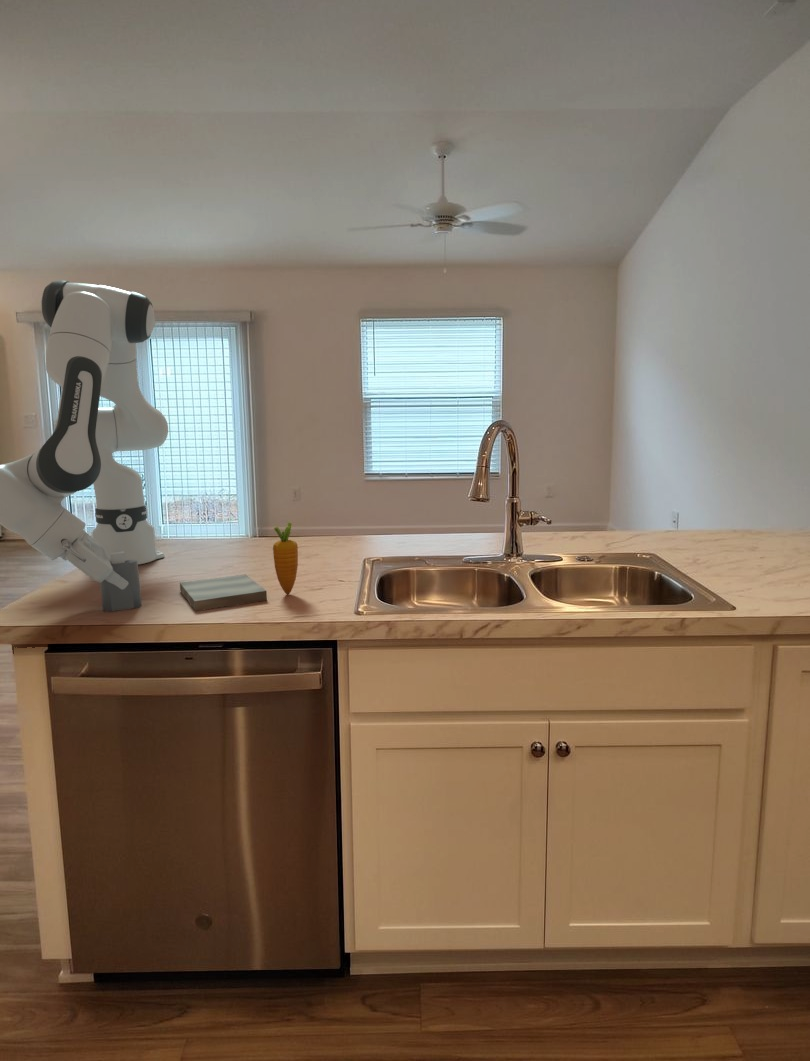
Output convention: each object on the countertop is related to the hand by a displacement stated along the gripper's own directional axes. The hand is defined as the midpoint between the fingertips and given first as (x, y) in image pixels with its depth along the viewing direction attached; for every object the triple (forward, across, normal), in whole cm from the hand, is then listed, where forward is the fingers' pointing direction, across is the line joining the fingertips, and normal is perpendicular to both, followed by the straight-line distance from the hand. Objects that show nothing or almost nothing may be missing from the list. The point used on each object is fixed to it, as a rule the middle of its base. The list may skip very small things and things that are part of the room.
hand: (123, 580), depth 130 cm
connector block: (+3, 0, +4) cm, 5 cm away
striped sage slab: (+17, -2, -9) cm, 19 cm away
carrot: (+25, -8, -18) cm, 32 cm away
